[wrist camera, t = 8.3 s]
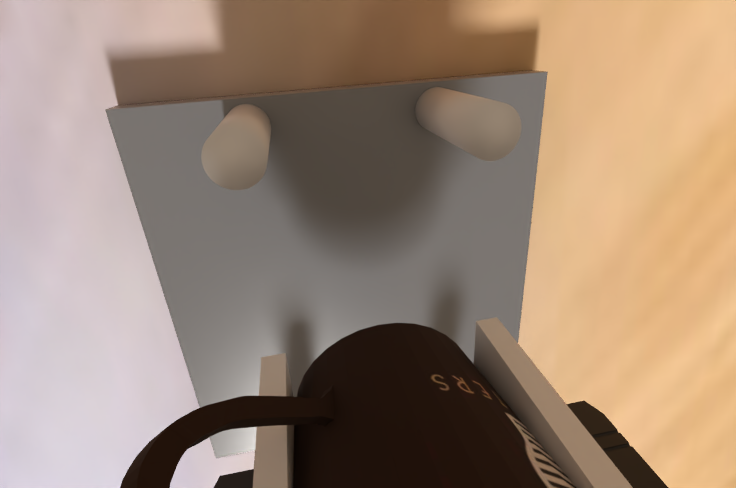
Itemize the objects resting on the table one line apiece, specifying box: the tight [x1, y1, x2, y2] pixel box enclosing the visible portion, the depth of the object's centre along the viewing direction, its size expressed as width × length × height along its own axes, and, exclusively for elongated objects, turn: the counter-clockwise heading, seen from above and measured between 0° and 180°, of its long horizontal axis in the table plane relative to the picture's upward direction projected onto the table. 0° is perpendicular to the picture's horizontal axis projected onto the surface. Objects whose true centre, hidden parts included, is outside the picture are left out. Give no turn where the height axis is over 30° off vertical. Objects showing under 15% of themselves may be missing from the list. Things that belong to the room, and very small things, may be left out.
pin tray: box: [106, 70, 547, 458], centre depth 17 cm, size 16×17×6 cm
